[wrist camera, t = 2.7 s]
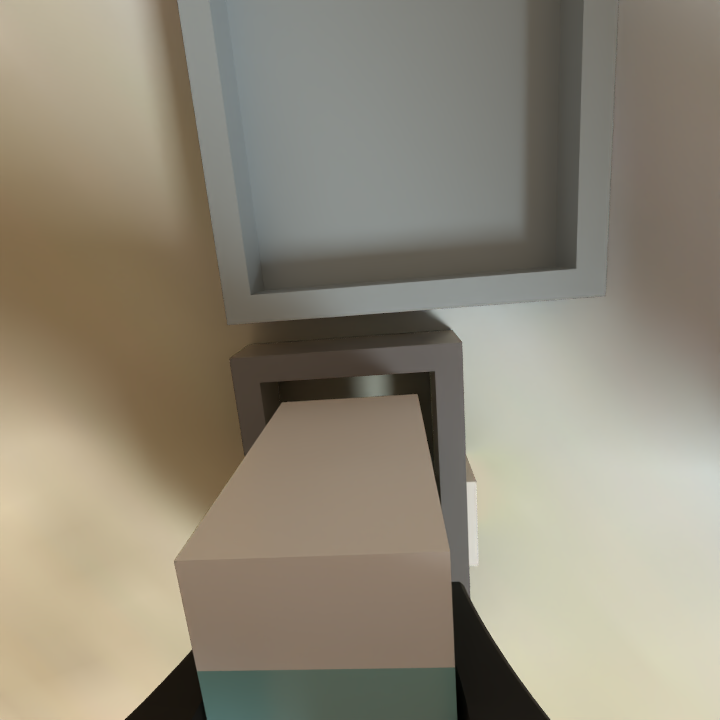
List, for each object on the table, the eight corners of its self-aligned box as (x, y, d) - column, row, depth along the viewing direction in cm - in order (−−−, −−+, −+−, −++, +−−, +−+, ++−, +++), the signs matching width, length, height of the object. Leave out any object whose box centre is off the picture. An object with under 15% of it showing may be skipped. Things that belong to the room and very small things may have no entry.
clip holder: (461, 329, 15) (473, 341, 13) (470, 628, 18) (481, 675, 16) (240, 345, 15) (219, 359, 13) (283, 632, 18) (271, 679, 16)
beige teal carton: (417, 394, 13) (451, 559, 6) (431, 647, 15) (469, 983, 8) (282, 402, 13) (169, 568, 6) (314, 650, 16) (255, 975, 9)
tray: (591, -269, 11) (635, -380, 9) (576, 289, 14) (605, 296, 12) (173, -200, 12) (132, -287, 10) (248, 314, 15) (227, 325, 13)
